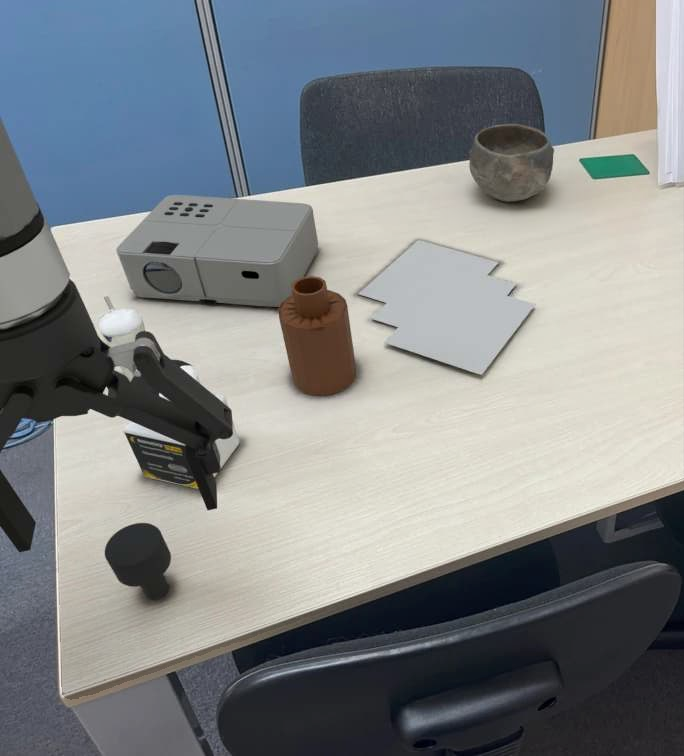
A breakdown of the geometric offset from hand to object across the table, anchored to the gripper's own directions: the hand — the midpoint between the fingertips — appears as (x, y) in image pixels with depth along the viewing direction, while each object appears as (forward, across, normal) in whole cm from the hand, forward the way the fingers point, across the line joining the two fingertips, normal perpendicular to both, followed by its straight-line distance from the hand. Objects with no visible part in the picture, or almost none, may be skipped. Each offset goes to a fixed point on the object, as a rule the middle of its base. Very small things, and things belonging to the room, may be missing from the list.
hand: (122, 516), depth 57 cm
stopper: (+10, 0, 0) cm, 11 cm away
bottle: (+11, -18, -26) cm, 33 cm away
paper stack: (+11, -36, -36) cm, 52 cm away
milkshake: (+11, +3, -32) cm, 33 cm away
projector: (+11, -8, -52) cm, 53 cm away
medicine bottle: (+11, -3, -16) cm, 19 cm away
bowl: (+11, -55, -66) cm, 86 cm away
